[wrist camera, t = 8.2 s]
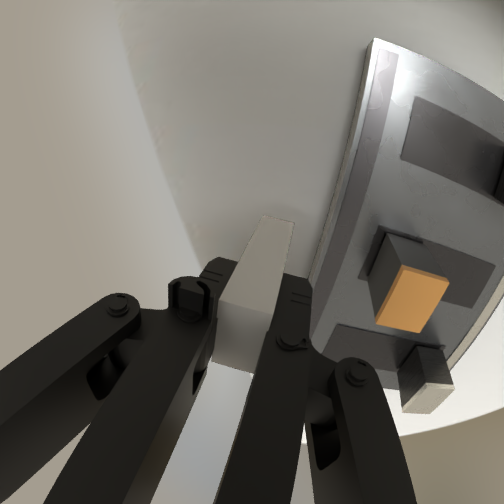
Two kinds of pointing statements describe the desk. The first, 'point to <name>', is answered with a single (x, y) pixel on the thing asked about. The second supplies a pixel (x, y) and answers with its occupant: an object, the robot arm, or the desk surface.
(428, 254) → the toggle
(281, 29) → the desk surface
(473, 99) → the panel
